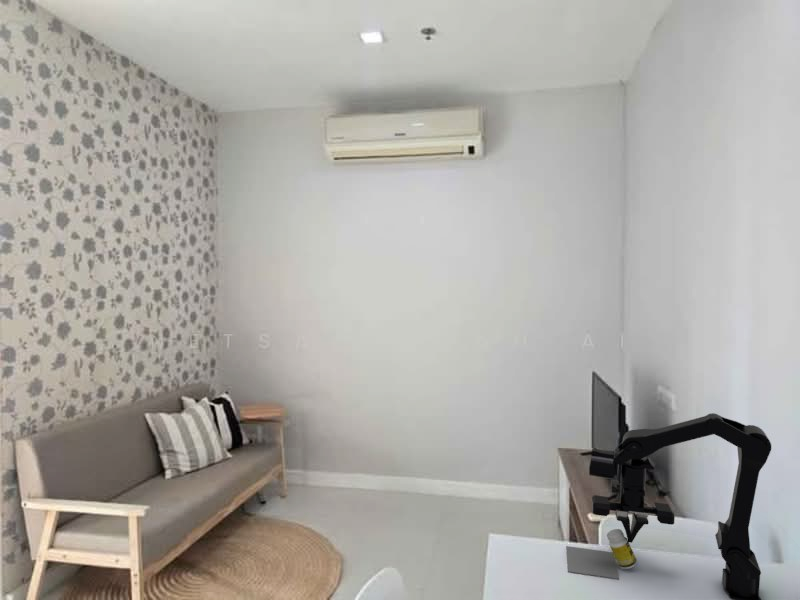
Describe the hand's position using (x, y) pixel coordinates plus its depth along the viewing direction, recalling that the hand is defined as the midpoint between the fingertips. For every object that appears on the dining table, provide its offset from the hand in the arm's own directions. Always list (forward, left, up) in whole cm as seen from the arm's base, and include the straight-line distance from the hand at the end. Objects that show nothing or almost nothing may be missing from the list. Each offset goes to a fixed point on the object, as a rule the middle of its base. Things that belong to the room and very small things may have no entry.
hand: (629, 541), depth 136 cm
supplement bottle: (0, 0, -6) cm, 6 cm away
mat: (+9, 0, -7) cm, 11 cm away
